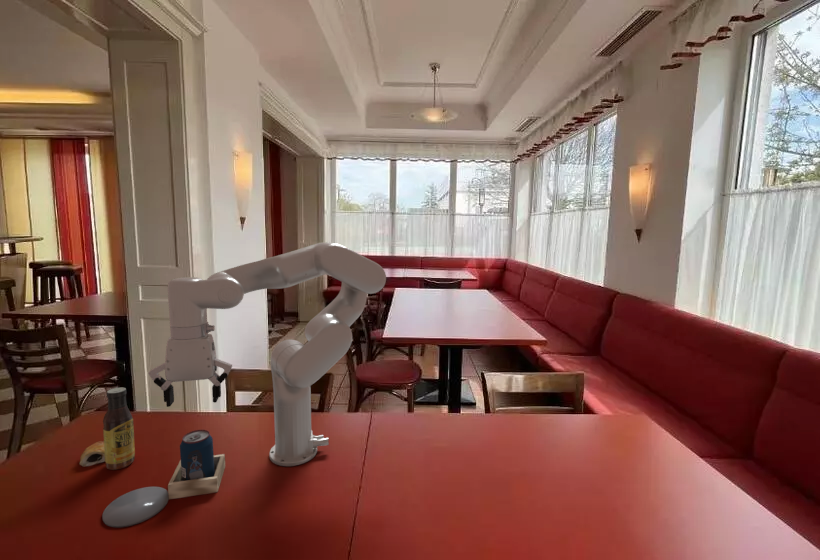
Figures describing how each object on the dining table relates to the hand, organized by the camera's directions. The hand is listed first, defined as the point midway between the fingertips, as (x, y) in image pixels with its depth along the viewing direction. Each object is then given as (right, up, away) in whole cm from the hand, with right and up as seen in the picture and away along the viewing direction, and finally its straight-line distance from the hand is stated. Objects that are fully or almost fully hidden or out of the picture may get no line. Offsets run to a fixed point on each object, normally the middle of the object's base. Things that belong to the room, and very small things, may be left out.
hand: (193, 402), depth 93 cm
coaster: (-9, -21, -6) cm, 24 cm away
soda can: (0, -20, +3) cm, 21 cm away
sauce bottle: (-24, -19, +9) cm, 32 cm away
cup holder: (0, -20, +3) cm, 20 cm away
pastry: (-32, -19, +12) cm, 39 cm away
